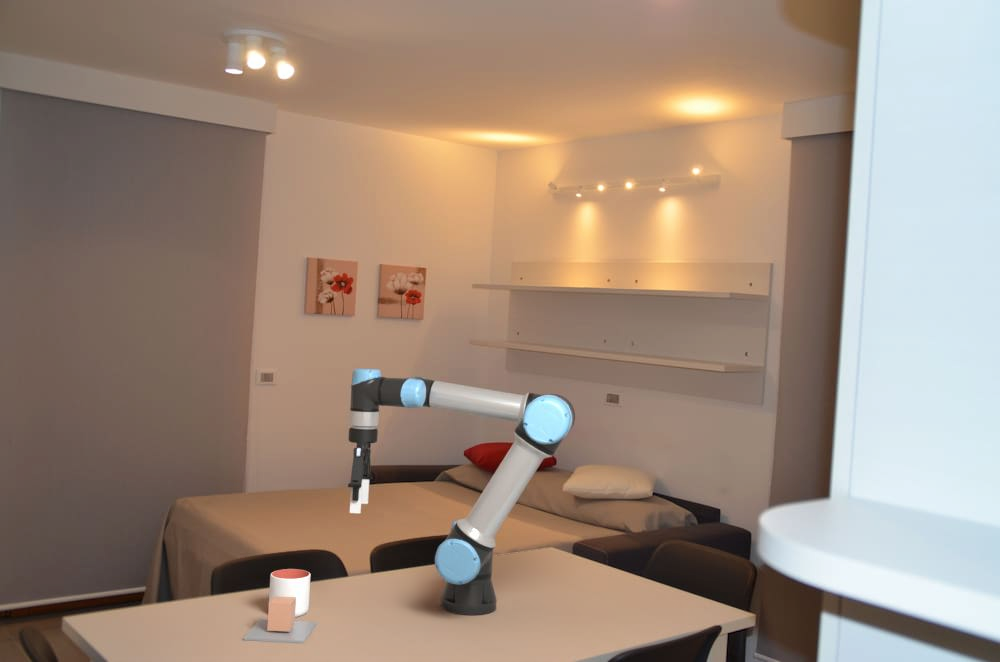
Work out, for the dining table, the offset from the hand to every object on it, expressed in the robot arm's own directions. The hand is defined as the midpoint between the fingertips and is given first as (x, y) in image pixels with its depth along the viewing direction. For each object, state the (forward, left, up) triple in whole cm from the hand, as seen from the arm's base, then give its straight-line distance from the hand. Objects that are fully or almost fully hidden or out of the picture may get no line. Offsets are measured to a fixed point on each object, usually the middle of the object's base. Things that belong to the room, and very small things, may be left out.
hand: (359, 508), depth 228 cm
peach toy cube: (+14, +20, -26) cm, 35 cm away
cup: (+16, +5, -27) cm, 32 cm away
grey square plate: (+14, +20, -27) cm, 36 cm away
